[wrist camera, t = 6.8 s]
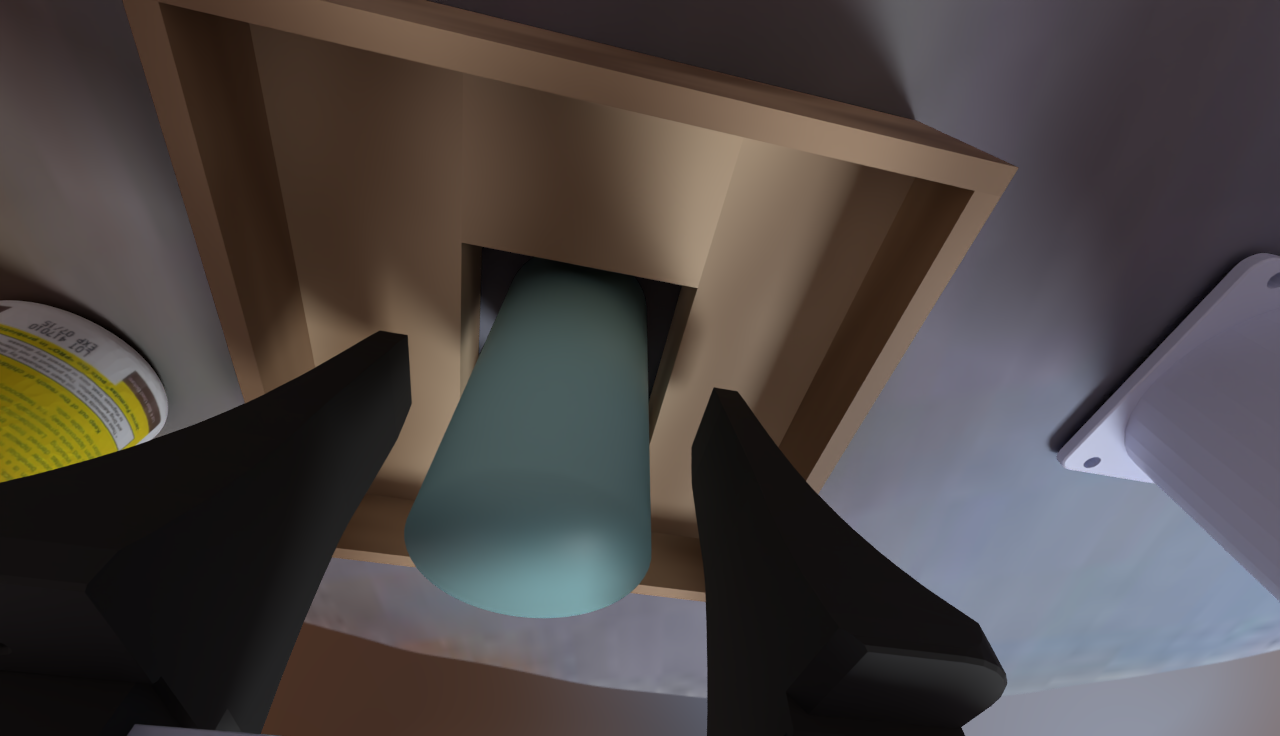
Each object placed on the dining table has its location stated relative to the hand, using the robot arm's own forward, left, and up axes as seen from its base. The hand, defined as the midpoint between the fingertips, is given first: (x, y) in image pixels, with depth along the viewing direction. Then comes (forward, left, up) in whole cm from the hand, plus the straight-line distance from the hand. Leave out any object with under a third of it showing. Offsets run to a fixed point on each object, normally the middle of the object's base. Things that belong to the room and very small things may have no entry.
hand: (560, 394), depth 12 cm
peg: (0, 0, -3) cm, 3 cm away
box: (0, 0, -3) cm, 3 cm away
